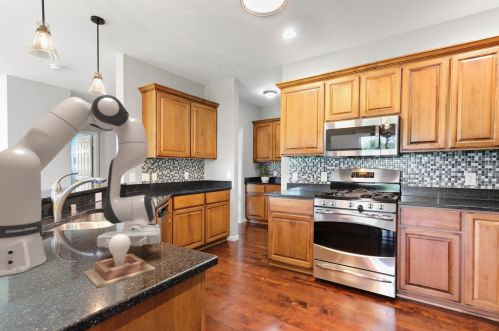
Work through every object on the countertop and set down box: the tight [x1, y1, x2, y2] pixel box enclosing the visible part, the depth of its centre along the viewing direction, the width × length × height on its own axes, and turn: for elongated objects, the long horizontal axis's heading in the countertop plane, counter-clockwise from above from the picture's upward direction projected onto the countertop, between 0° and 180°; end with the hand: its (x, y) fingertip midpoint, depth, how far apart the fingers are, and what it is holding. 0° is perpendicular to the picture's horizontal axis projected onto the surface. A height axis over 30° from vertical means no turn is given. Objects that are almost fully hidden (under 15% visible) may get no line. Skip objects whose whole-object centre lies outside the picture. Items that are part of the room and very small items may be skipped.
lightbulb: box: [107, 234, 131, 268], centre depth 77 cm, size 6×6×11 cm
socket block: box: [83, 253, 156, 289], centre depth 77 cm, size 16×14×3 cm
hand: (123, 244), depth 80 cm, fingers open, 8 cm apart
